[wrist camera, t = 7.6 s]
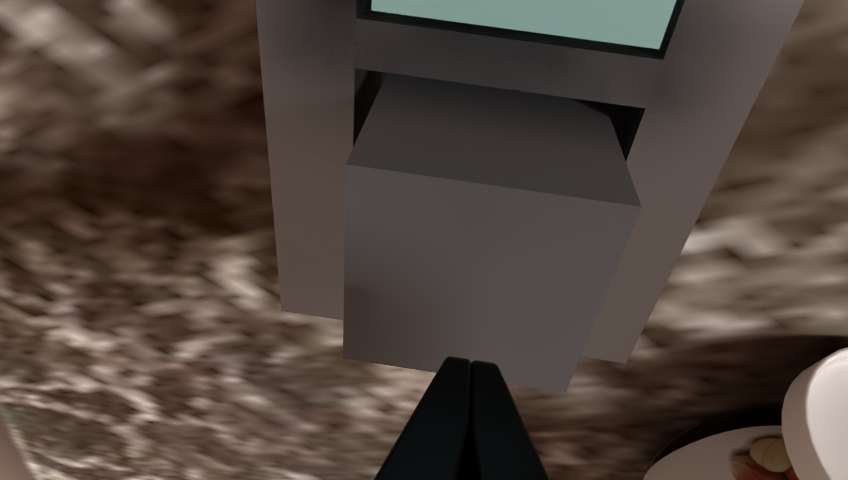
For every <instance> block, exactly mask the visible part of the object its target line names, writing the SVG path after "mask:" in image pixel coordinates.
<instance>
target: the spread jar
mask: <svg viewBox="0 0 848 480" xmlns="http://www.w3.org/2000/svg"><path fill="white" fill-rule="evenodd" d="M643 480H848V347H847V348H843V349H839V350H837V351H836V352H834V353H832V354H830V355H829V356H827V357H825V358H823V359H822V360H820V361H818V362H817V363H815V364H813V365H812V366H810V367H808V368H807V369H805V370H803V371H802V372H801V373H800V374H799V375H798V376H797V377H796V378H795V379H794V380H793V382H792V383H791V385H790V387H789V389H788V391H787V393H786V395H785V398H784V403H783V408H782V410H772V409H758V410H745V411H738V412H732V413H727V414H723V415H719V416H716V417H713V418H710V419H708V420H705V421H702V422H700V423H698V424H696V425H694V426H692V427H690V428H689V429H687V430H685V431H683V432H682V433H680V434H679V435H677V436H676V437H674V438H673V439H672V440H670V441H669V442H668V443H667V444H666V445H664V446H663V447H662V448H661V449H660V450H659V452H658V453H657V454H656V455H655V457H654V458H653V459H652V461H651V462H650V464H649V466H648V468H647V470H646V473H645V475H644V478H643Z"/></svg>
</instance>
